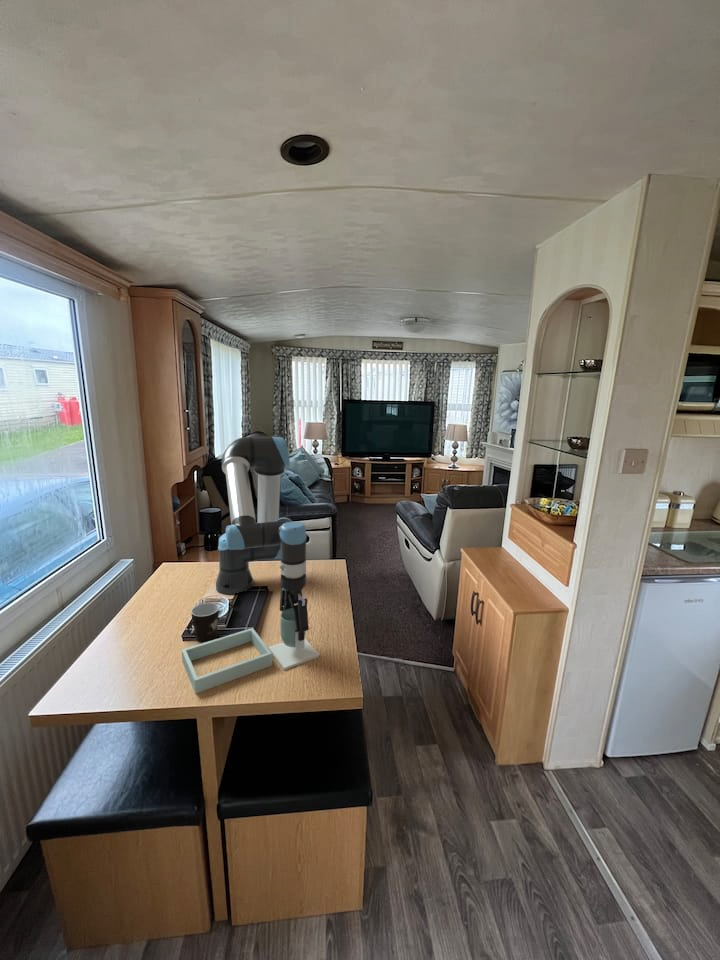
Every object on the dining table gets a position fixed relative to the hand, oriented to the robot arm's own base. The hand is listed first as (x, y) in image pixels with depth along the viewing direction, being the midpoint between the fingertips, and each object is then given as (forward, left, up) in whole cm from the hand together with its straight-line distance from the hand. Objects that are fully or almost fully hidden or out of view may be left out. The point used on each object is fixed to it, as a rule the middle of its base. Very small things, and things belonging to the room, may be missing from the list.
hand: (293, 641), depth 127 cm
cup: (0, 0, -1) cm, 1 cm away
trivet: (0, 0, -4) cm, 4 cm away
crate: (-6, -19, -4) cm, 20 cm away
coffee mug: (-23, -22, -4) cm, 32 cm away
